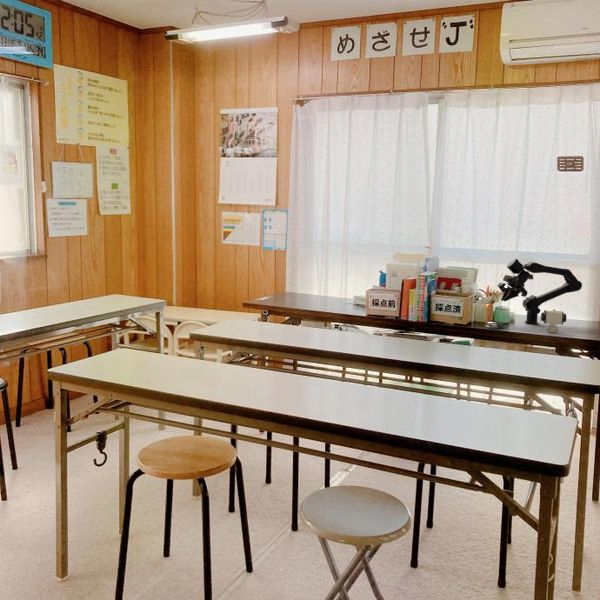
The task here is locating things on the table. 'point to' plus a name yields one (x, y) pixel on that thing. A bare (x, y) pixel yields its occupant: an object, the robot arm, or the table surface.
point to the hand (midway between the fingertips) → (502, 300)
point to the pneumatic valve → (553, 319)
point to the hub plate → (491, 327)
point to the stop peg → (500, 325)
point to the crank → (490, 316)
